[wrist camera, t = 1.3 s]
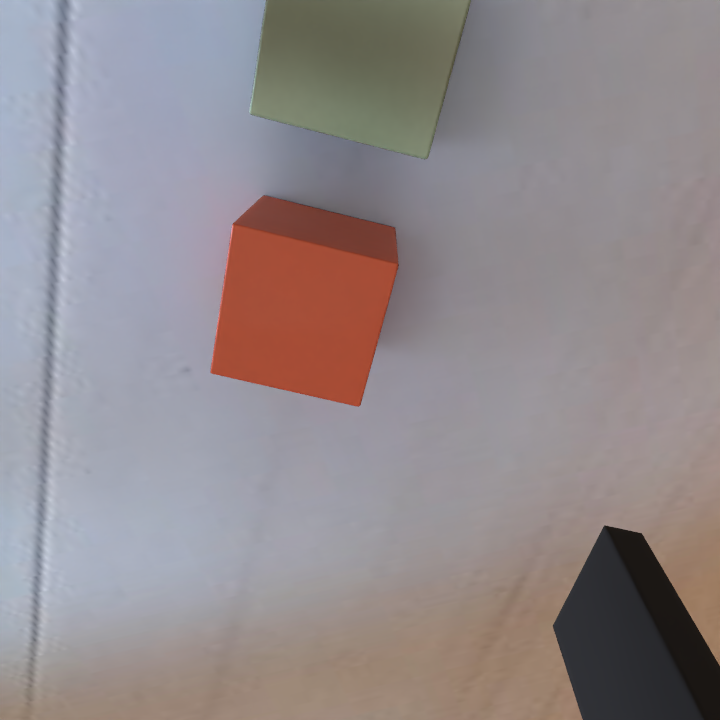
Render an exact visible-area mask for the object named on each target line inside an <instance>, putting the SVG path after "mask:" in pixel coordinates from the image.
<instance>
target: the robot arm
mask: <svg viewBox="0 0 720 720" xmlns="http://www.w3.org/2000/svg"><path fill="white" fill-rule="evenodd" d="M553 628H554V631H555V634H556V637H557V641H558V644H559V647H560V650H561V653H562V656H563V659H564V662H565V666H566V669H567V672H568V675H569V678H570V681H571V684H572V687H573V691H574V694H575V697H576V700H577V703H578V706H579V709H580V712H581V715H582V719H583V720H720V666H719V664H718V662H717V661H716V659H715V657H714V656H713V654H712V652H711V650H710V649H709V647H708V645H707V644H706V642H705V640H704V638H703V637H702V635H701V633H700V632H699V630H698V628H697V627H696V625H695V623H694V621H693V620H692V618H691V616H690V615H689V613H688V611H687V610H686V608H685V606H684V604H683V603H682V601H681V599H680V598H679V596H678V594H677V593H676V591H675V589H674V587H673V586H672V584H671V582H670V581H669V579H668V577H667V576H666V574H665V572H664V570H663V569H662V567H661V565H660V564H659V562H658V560H657V559H656V557H655V555H654V553H653V552H652V550H651V548H650V547H649V545H648V543H647V541H646V540H645V538H644V536H643V535H642V533H637V532H633V531H628V530H623V529H619V528H614V527H609V526H605V525H604V527H603V529H602V531H601V533H600V535H599V537H598V539H597V541H596V543H595V545H594V547H593V549H592V551H591V553H590V555H589V556H588V558H587V560H586V562H585V564H584V566H583V568H582V570H581V572H580V574H579V576H578V578H577V580H576V582H575V584H574V586H573V588H572V590H571V592H570V594H569V596H568V597H567V599H566V601H565V603H564V605H563V607H562V609H561V611H560V613H559V615H558V617H557V619H556V621H555V623H554V625H553Z"/></svg>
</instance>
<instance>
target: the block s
mask: <svg viewBox="0 0 720 720" xmlns="http://www.w3.org/2000/svg"><path fill="white" fill-rule="evenodd" d="M398 266H399V264H398V254H397V243H396V232H395V228H394V227H390V226H386V225H382V224H378V223H374V222H370V221H366V220H362V219H358V218H354V217H350V216H346V215H342V214H338V213H334V212H330V211H326V210H322V209H318V208H314V207H310V206H306V205H302V204H297V203H293V202H289V201H285V200H281V199H277V198H273V197H269V196H265V195H264V196H262V197H261V198H260V199H259V200H258V201H257V202H256V203H255V204H254V205H253V206H251V207H250V208H249V209H248V210H247V211H246V212H245V213H244V214H243V215H242V216H241V217H240V218H239V219H238V220H236V221H235V222H234V223H233V225H232V230H231V237H230V243H229V250H228V257H227V263H226V270H225V277H224V284H223V290H222V297H221V304H220V310H219V317H218V324H217V331H216V337H215V344H214V351H213V357H212V364H211V373H212V374H216V375H221V376H225V377H230V378H234V379H238V380H243V381H247V382H252V383H256V384H261V385H265V386H269V387H274V388H278V389H283V390H287V391H292V392H296V393H300V394H305V395H309V396H314V397H318V398H322V399H327V400H331V401H336V402H340V403H345V404H349V405H353V406H360V405H361V401H362V397H363V394H364V390H365V386H366V383H367V379H368V375H369V372H370V368H371V364H372V361H373V357H374V354H375V350H376V346H377V343H378V339H379V335H380V332H381V328H382V324H383V321H384V317H385V313H386V310H387V306H388V302H389V299H390V295H391V291H392V288H393V284H394V281H395V277H396V273H397V270H398Z"/></svg>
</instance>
